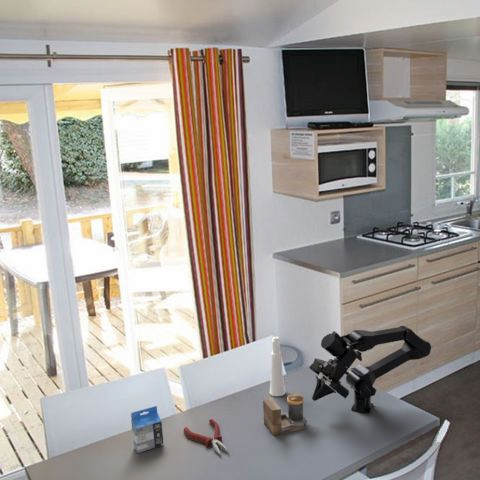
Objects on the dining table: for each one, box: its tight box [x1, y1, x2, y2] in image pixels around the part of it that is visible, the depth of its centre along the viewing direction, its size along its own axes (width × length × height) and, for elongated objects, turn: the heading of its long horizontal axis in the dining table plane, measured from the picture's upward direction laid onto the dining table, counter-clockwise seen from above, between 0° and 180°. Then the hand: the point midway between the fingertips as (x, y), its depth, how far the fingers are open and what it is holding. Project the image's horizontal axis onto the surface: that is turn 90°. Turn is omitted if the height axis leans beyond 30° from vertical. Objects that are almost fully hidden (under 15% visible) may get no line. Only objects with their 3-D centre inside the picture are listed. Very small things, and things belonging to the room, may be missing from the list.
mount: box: [262, 397, 306, 437], centre depth 192 cm, size 12×8×9 cm
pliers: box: [183, 418, 230, 457], centre depth 187 cm, size 12×20×3 cm, turn 29°
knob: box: [285, 393, 308, 424], centre depth 194 cm, size 5×6×8 cm
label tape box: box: [130, 405, 165, 454], centre depth 184 cm, size 9×4×12 cm, turn 118°
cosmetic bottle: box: [268, 336, 287, 397], centre depth 214 cm, size 6×6×22 cm
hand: (313, 399), depth 195 cm, fingers closed
